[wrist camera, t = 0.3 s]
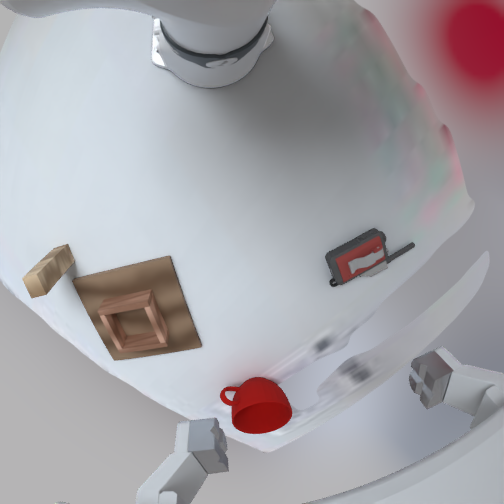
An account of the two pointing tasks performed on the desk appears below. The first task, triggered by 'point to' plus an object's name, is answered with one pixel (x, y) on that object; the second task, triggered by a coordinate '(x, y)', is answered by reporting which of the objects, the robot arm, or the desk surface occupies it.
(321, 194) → the desk surface
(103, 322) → the wooden peg socket board
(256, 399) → the ceramic cup
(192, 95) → the desk surface
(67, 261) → the wooden peg
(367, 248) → the walkie-talkie
